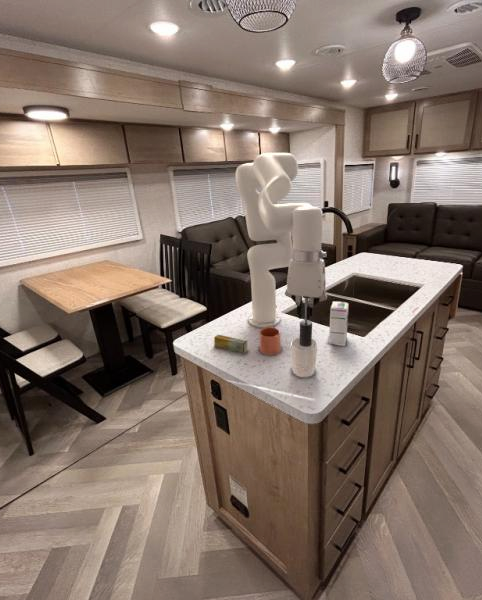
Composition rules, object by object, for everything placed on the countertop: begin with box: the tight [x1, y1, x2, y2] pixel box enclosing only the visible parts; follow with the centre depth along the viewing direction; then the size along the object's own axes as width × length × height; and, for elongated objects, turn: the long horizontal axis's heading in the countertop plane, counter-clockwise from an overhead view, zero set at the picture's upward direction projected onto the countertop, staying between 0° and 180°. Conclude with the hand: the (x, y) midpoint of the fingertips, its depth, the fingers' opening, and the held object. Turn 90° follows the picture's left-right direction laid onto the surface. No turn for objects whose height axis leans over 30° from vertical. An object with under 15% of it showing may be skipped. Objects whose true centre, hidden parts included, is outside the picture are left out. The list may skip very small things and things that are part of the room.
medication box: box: [213, 334, 248, 354], centre depth 111 cm, size 12×3×4 cm, turn 67°
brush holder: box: [258, 326, 282, 356], centre depth 109 cm, size 7×7×7 cm
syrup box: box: [328, 301, 350, 347], centre depth 112 cm, size 6×6×14 cm
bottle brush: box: [299, 296, 313, 347], centre depth 91 cm, size 4×4×21 cm
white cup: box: [290, 336, 319, 378], centre depth 97 cm, size 8×8×10 cm
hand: (305, 317), depth 92 cm, fingers closed
